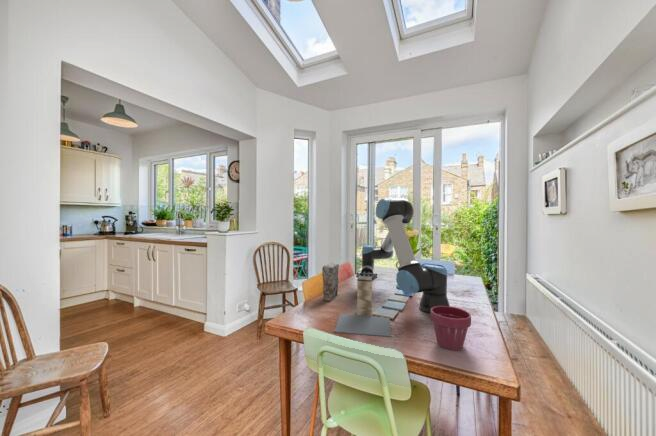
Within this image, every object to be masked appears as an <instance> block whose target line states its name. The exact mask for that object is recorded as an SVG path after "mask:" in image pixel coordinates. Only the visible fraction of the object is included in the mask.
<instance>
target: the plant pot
mask: <svg viewBox="0 0 656 436" xmlns="http://www.w3.org/2000/svg"><path fill="white" fill-rule="evenodd" d="M430 320H431V322H433V323H432V324H433V328H434V329H433V330H434V332H435V333H434V334H435V337H436V342H437V344H438V345H439V346H440V347H442V348H444V349H446V350H451V351H459V349H460V350H462V349H463V347H464V346H465V345H464V344H465V341H466V337H467V333H468V329H469V328H470V327H471V326H472V315H471V313H470V312H469V311H466V310H465V309H463V308H460V307H456V306H435V307H433V308H431V313H430Z"/></svg>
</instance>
